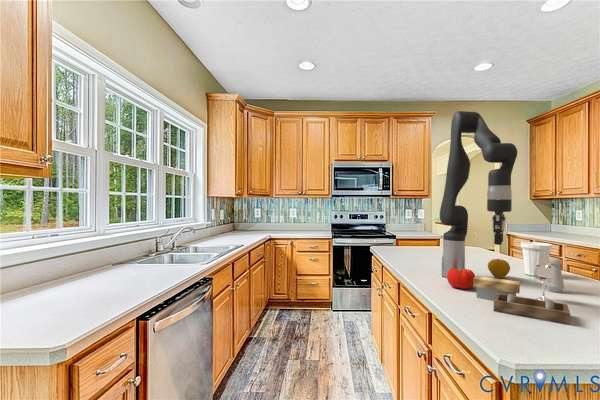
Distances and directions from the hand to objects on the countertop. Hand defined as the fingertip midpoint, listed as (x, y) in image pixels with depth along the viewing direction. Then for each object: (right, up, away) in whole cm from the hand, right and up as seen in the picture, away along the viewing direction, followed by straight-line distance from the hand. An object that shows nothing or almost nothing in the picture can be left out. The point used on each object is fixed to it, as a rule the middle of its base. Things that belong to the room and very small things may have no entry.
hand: (498, 243), depth 117 cm
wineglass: (+17, -21, +1) cm, 27 cm away
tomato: (-6, -20, +16) cm, 26 cm away
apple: (+20, -21, +33) cm, 44 cm away
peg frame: (+1, -20, -14) cm, 25 cm away
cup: (+42, -21, +39) cm, 60 cm away
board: (-1, -16, 0) cm, 16 cm away
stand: (-1, -20, 0) cm, 20 cm away
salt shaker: (+29, -21, +11) cm, 38 cm away
